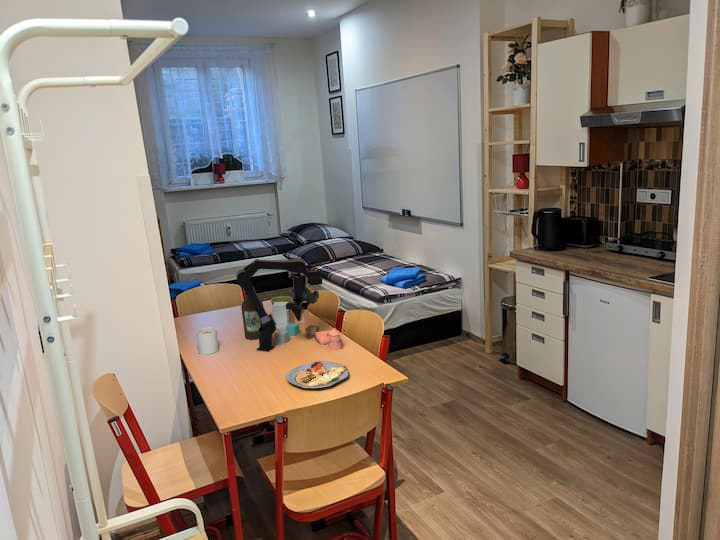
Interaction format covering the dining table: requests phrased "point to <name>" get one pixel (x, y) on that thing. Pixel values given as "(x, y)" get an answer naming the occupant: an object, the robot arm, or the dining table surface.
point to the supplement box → (280, 315)
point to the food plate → (318, 368)
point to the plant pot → (281, 300)
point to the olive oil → (250, 319)
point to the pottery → (329, 339)
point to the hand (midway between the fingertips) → (301, 319)
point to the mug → (207, 340)
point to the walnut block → (312, 331)
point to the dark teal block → (293, 329)
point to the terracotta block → (303, 316)
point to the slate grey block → (281, 337)
